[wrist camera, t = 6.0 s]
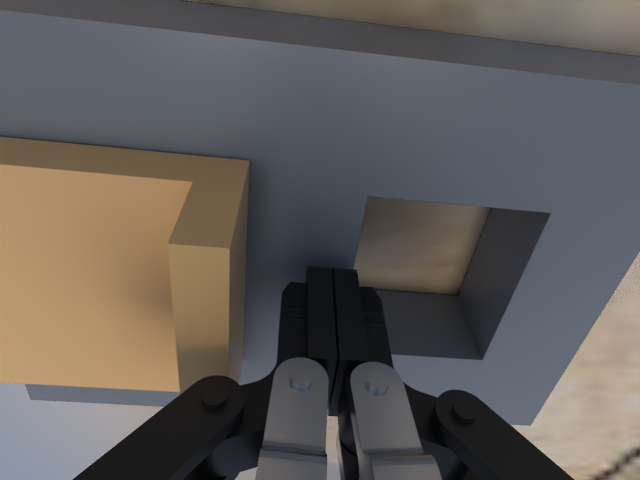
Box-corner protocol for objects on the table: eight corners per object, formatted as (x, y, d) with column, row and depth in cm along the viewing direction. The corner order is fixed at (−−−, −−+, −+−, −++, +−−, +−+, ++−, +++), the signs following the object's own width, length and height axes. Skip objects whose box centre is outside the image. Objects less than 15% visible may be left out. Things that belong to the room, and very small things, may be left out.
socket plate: (-28, -26, 13) (-120, -5, 10) (654, 58, 15) (736, 96, 12) (68, 332, 21) (30, 399, 18) (502, 360, 23) (530, 425, 20)
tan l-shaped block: (-74, 129, 12) (-213, 212, 9) (249, 160, 13) (230, 248, 9) (8, 348, 17) (-63, 455, 13) (242, 362, 17) (227, 467, 14)
